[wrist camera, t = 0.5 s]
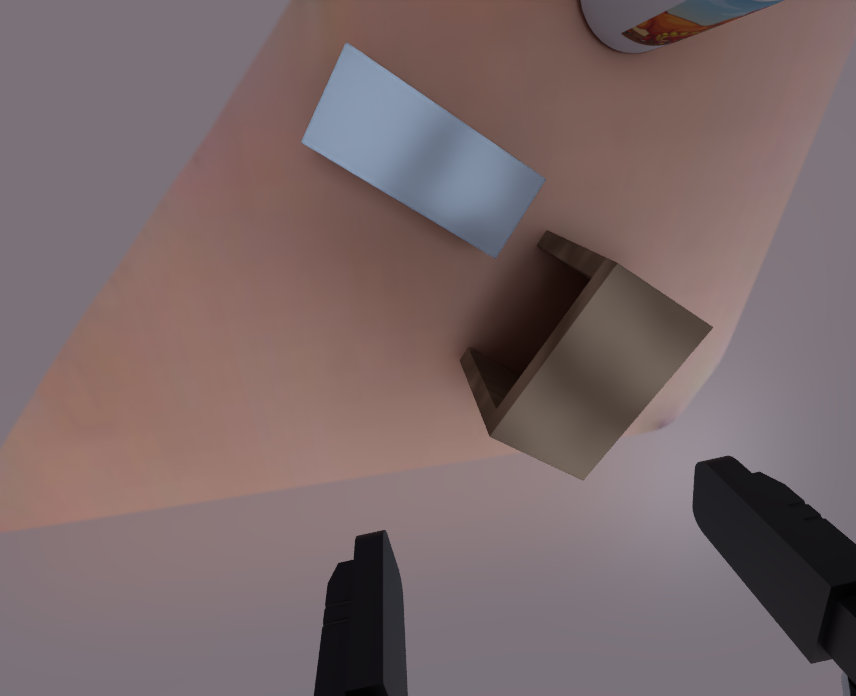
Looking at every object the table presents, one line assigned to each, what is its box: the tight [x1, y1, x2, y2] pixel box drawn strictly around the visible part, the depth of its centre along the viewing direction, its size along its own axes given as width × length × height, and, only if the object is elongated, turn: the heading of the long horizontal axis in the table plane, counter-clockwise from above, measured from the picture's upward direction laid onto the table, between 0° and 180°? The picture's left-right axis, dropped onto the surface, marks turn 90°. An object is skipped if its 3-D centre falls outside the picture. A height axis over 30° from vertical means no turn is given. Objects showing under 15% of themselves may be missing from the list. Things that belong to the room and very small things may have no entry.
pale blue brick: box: [301, 42, 546, 259], centre depth 27 cm, size 5×12×6 cm, turn 60°
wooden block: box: [460, 230, 713, 480], centre depth 30 cm, size 11×7×10 cm, turn 149°
